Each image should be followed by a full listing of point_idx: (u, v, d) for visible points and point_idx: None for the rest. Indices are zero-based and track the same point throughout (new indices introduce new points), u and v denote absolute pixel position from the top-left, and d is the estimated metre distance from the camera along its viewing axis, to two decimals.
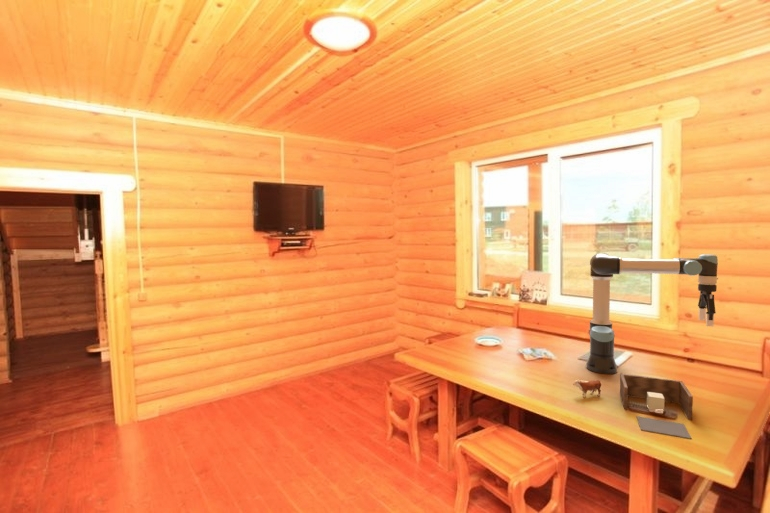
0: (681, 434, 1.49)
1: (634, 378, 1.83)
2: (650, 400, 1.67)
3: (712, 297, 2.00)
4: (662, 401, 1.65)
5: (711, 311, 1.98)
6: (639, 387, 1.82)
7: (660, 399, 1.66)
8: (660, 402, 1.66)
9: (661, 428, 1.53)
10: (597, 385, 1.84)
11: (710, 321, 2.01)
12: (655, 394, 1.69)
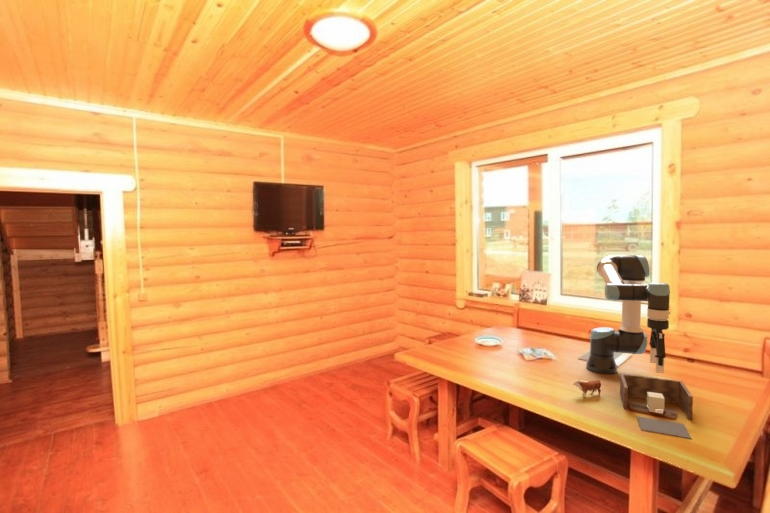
0: (681, 434, 1.49)
1: (634, 378, 1.83)
2: (650, 400, 1.67)
3: (662, 337, 1.60)
4: (662, 401, 1.65)
5: (660, 355, 1.58)
6: (639, 387, 1.82)
7: (660, 399, 1.66)
8: (660, 402, 1.66)
9: (661, 428, 1.53)
10: (597, 385, 1.84)
11: (660, 367, 1.61)
12: (655, 394, 1.69)
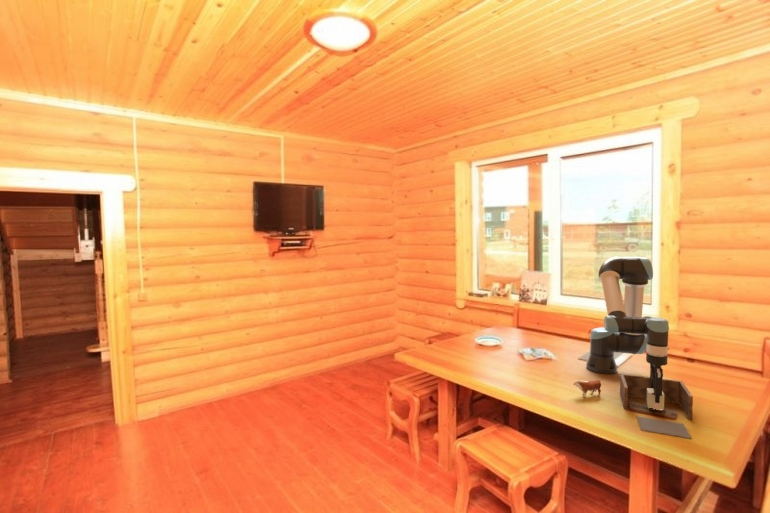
0: (681, 434, 1.49)
1: (634, 378, 1.83)
2: (650, 396, 1.67)
3: (660, 376, 1.62)
4: (662, 398, 1.66)
5: (657, 393, 1.63)
6: (639, 387, 1.82)
7: None
8: None
9: (661, 428, 1.53)
10: (597, 385, 1.84)
11: (657, 403, 1.66)
12: None
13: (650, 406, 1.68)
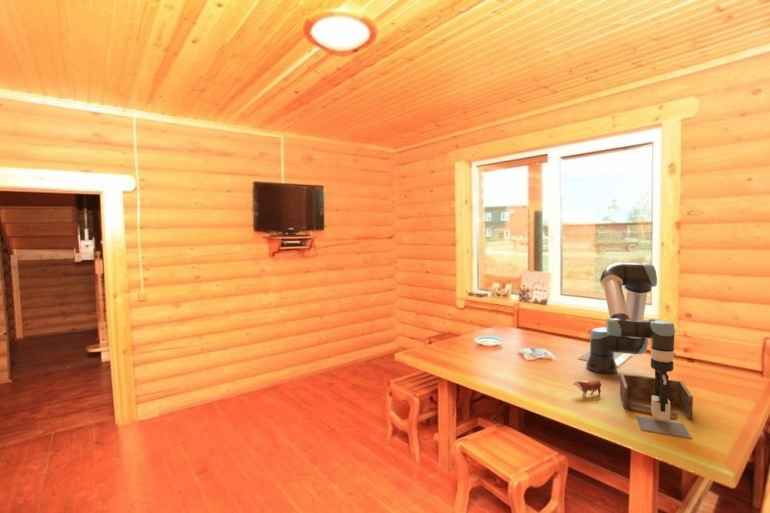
0: (681, 434, 1.49)
1: (634, 378, 1.83)
2: (655, 404, 1.57)
3: (666, 383, 1.52)
4: (668, 406, 1.55)
5: (663, 401, 1.53)
6: (639, 387, 1.82)
7: None
8: None
9: (661, 428, 1.53)
10: (597, 385, 1.84)
11: (662, 412, 1.56)
12: None
13: (655, 415, 1.57)
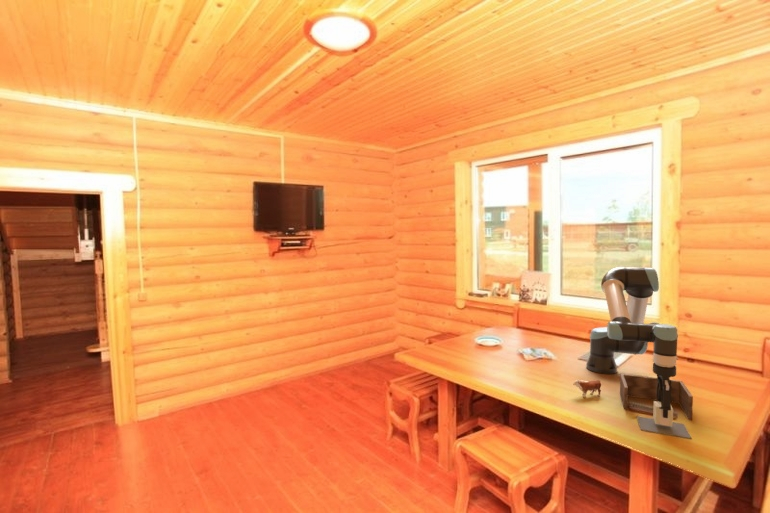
0: (681, 434, 1.49)
1: (634, 378, 1.83)
2: (657, 411, 1.53)
3: (668, 389, 1.48)
4: (671, 412, 1.51)
5: (665, 408, 1.49)
6: (639, 387, 1.82)
7: None
8: (669, 412, 1.51)
9: (661, 428, 1.53)
10: (597, 385, 1.84)
11: (665, 419, 1.51)
12: None
13: (657, 421, 1.53)
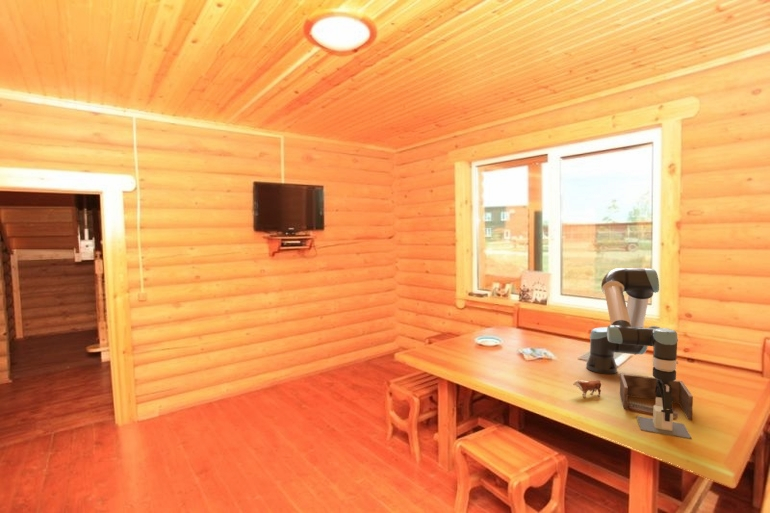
0: (681, 434, 1.49)
1: (634, 378, 1.83)
2: (657, 415, 1.53)
3: (669, 390, 1.47)
4: None
5: (667, 410, 1.45)
6: (639, 387, 1.82)
7: None
8: None
9: None
10: (597, 385, 1.84)
11: (667, 422, 1.48)
12: (662, 408, 1.55)
13: (657, 426, 1.53)
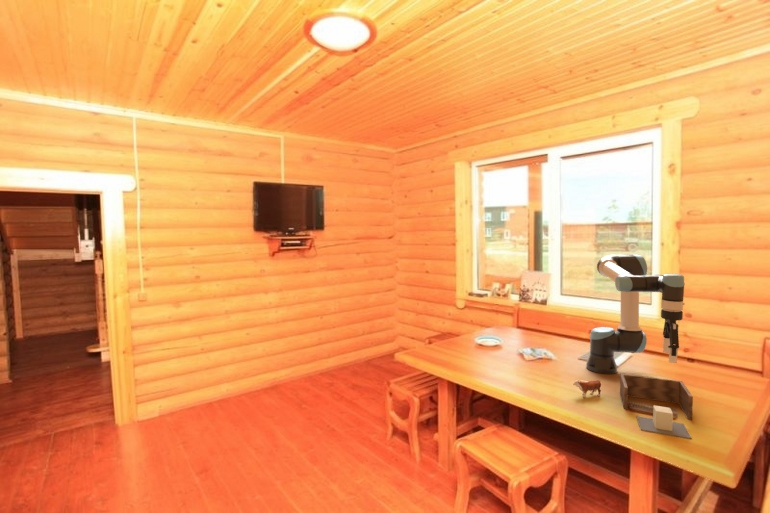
0: (681, 434, 1.49)
1: (634, 378, 1.83)
2: (657, 415, 1.53)
3: (675, 328, 1.62)
4: (670, 417, 1.51)
5: (674, 345, 1.60)
6: (639, 387, 1.82)
7: (668, 415, 1.51)
8: (669, 417, 1.51)
9: None
10: (597, 385, 1.84)
11: (673, 357, 1.63)
12: (662, 408, 1.55)
13: (657, 426, 1.53)
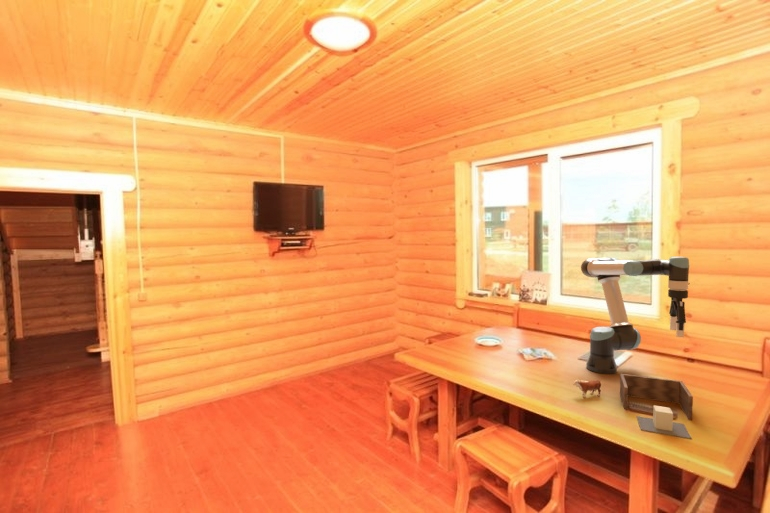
0: (681, 434, 1.49)
1: (634, 378, 1.83)
2: (657, 415, 1.53)
3: (682, 305, 1.79)
4: (670, 417, 1.51)
5: (681, 320, 1.77)
6: (639, 387, 1.82)
7: (668, 415, 1.51)
8: (669, 417, 1.51)
9: None
10: (597, 385, 1.84)
11: (680, 331, 1.80)
12: (662, 408, 1.55)
13: (657, 426, 1.53)
